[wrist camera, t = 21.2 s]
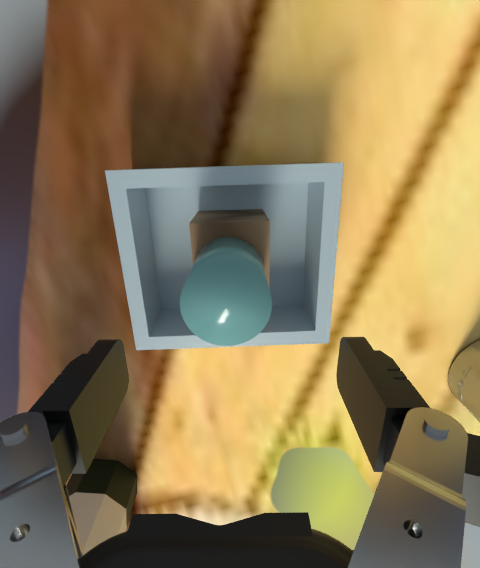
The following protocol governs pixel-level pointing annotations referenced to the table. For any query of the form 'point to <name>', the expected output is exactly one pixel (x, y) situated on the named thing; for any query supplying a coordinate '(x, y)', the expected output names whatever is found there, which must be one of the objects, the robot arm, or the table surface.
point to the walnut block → (232, 230)
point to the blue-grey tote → (228, 196)
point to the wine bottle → (102, 501)
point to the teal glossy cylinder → (226, 293)
